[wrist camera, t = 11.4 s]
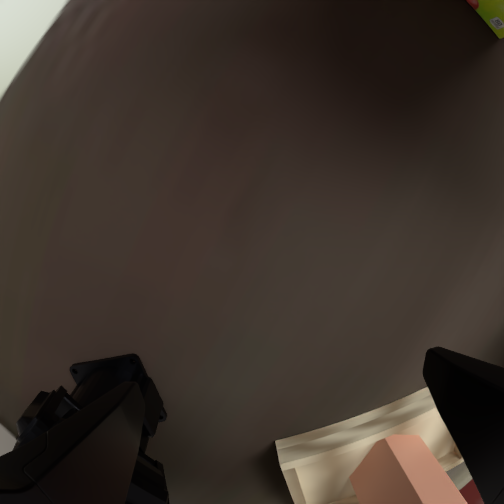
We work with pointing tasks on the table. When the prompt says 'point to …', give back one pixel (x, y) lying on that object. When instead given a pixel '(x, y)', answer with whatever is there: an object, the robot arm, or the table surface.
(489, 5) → the snack box
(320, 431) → the tray
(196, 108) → the table surface
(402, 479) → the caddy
